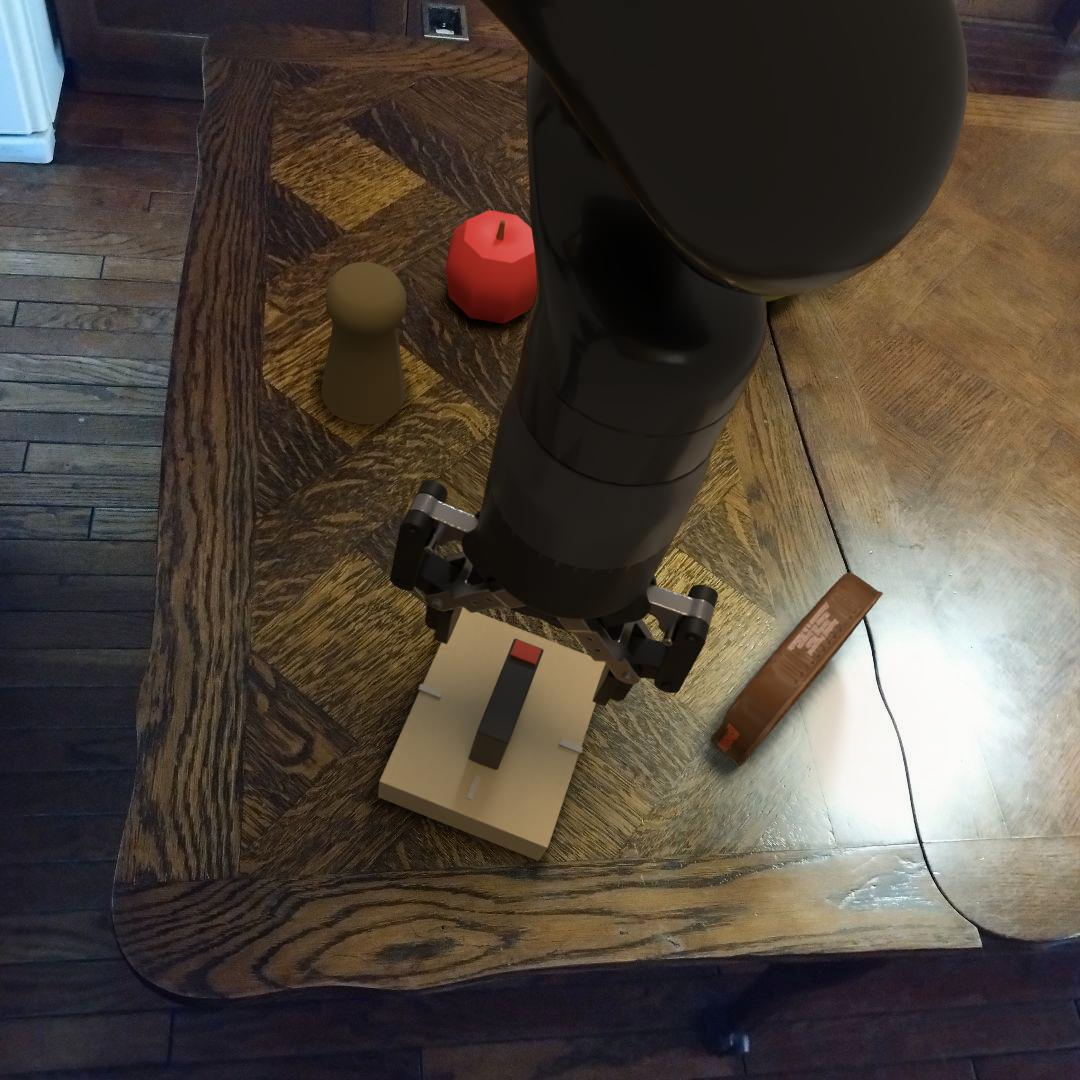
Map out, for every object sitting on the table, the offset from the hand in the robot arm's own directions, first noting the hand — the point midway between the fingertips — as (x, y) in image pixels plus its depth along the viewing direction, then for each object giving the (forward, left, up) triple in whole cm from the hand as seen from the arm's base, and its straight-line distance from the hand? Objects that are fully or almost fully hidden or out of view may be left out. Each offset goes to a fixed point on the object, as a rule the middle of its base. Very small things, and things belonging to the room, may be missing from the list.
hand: (525, 657), depth 50 cm
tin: (+10, -16, -12) cm, 22 cm away
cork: (+21, +18, -12) cm, 30 cm away
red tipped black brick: (0, 0, -9) cm, 9 cm away
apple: (+34, +13, -12) cm, 38 cm away
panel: (0, 0, -12) cm, 12 cm away
